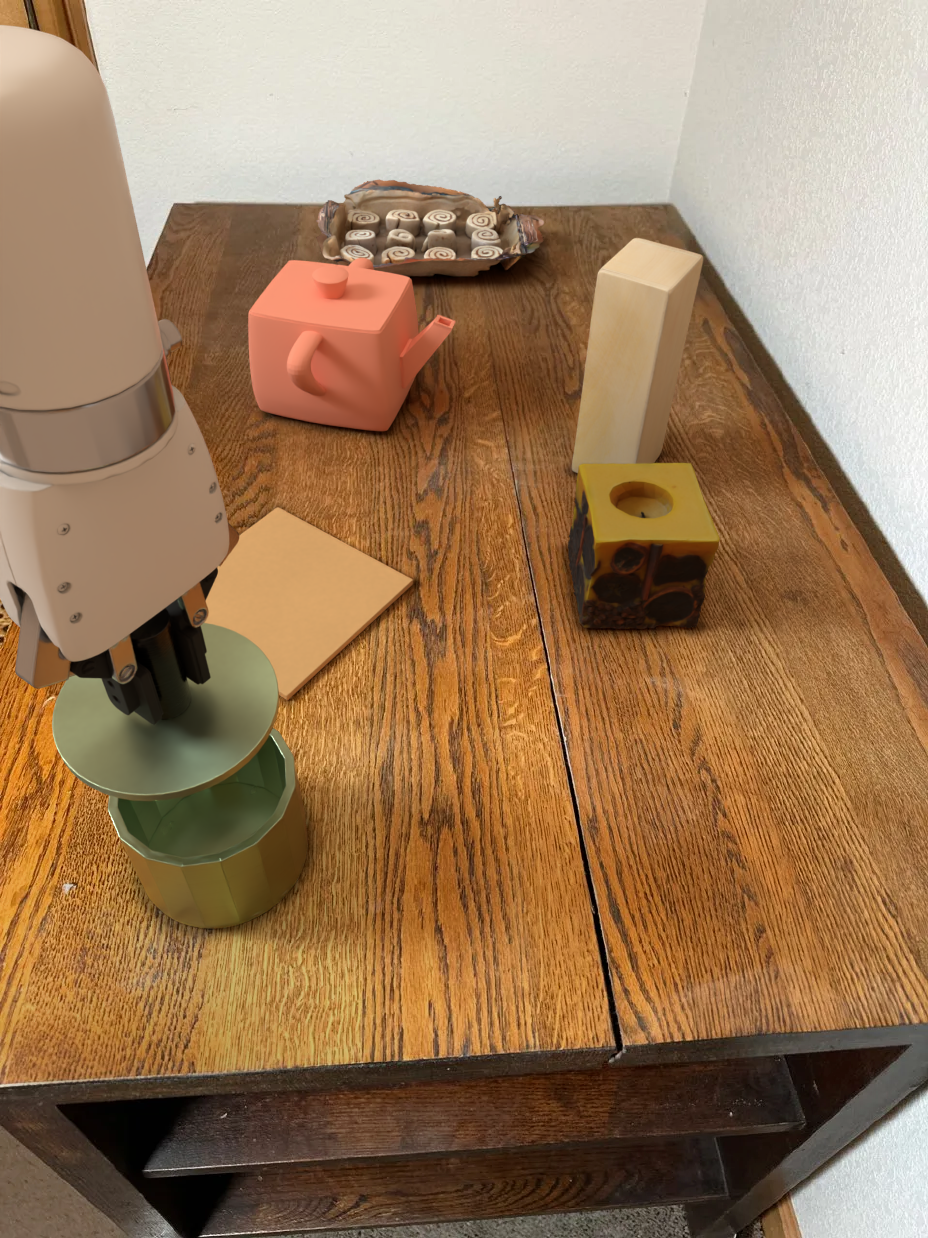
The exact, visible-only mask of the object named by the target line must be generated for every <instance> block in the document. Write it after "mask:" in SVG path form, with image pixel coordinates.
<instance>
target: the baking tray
mask: <svg viewBox="0 0 928 1238" xmlns="http://www.w3.org/2000/svg"><path fill="white" fill-rule="evenodd" d="M343 198H344V201H343V202H336V201H335V200H331V199H327V201H326V202H325V203H323V204H322V206H323V207H322V208H320V209H319V212H318V216H317V220H316V222H317V223H318V224H317V226H318V228H319V229H320V232H321V233H320V234H319V235H318V236H316V237H315V238H316V240H317V244H318V246H319V249H320V251H321V254H322V256H323V257H324V258H325V259H328V260H330V261H334V262H335V263H336V265H344V266H349V265H350V264H351V263H352V262H353V261H354V260H355V259H357V258H367V259H369V260H370V261H371V262H372V263H373V267H374V270H376V271H382V272H388V273H393V274H399V275H403V276H407V277H434V275H435V274H436V275H443V276H449V277H476V276H478V275H479V274H480V273H479V272H480V271H489V270H490V267H491V266H495V265H497V264H500V265H501V266H502V268H503V269H504V271H507V270H509V269H510V268H511V267H512V266H513V265H514V264H516V263H517V262H518V261H519V260H521V259H522V258H525V257H526V256H527V254H532V253H533V252H535V251H536V249H538V248H540V244H542V243H543V242H544V236H543V234H542V232H541V231H540V230H539V228H540V227H542V226H544V224H545V221H544V220H543V219H542V218H540V216H537V215H536V214H524V213H522V214H521V213H520V214H519V213H516V211H515V210H514V209H513V208H512V207H511V205H507V204H506V203H501V204H500V201H501V200H502V199H503V196H502V195H499V196H498V198H496V197H494V198H492V199H493V200H492V201H493V207H491V208H490V207H488V206H487V205H486V204H485V203H484V202H483V201H482V200H481V199H480V198H479V197H475V196H473V195H471V194H469V193H466V192H464V191H458V190H455V189H452V188H451V189H450V188H446V187H442V186H437V185H435V186H434V185H428V184H427V185H424V184H415V183H408V182H407V181H398V180H395V179H389V180H383V179H373V180H366V181H364V182H363V183H361V184H359V185H357V186H354V188H352V189H351V191H350V192H349V193H346V194H344V196H343ZM515 213H516V214H515Z"/></svg>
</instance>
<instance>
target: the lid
mask: <svg viewBox="0 0 928 1238" xmlns="http://www.w3.org/2000/svg"><path fill="white" fill-rule="evenodd" d="M201 629H202V633H203V637H204V641H205V645H206V649H207V652H206V654H205V656H206V660H207V664H208V668H209V672H210V676H211V678H210V679H209V680H208V681H206V682H205V683H204V684H199V685H198V684H196V683H194V682H193V681H191V680H190V679H188V678H187V677H186V673H185V669H184V666H183V662H182V658H181V655H180V651H179V647H178V644H177V640H176V636H175V633H174V629H173V626H172V622H171V618H170V615H169V612H168V610H167V609H166V608H164V609H163V610H162V611H160V612H159V613H157V614H156V615H155V616H153V617H152V618H151V619H149V620H148V621H147V622H145V623H144V624H143V625H141V626H140V627H138V628H137V629H136V630H134V631H133V632H132V633H130V637H131V642H132V646H133V650H134V654H135V659H136V661H137V662H139V663H140V664H142V665H143V666H144V667H146V668H147V669H148V670H149V671H150V673H151V675H152V679H153V682H154V685H155V688H156V691H157V694H158V698H159V701H160V704H161V707H162V710H163V715H162V719H161V720H160V721H158V722H157V723H156V724H155V725H153V724H151V723H149V722H148V721H147V720H145V719H144V718H142V717H141V716H140V715H138V714H137V713H135V712H132V713H131V714H130V715H126V714H124V713H123V712H121V711H120V710H119V709H117V708H116V707H115V706H114V705H113V704H112V702H111V701H110V699H109V697H108V695H107V692H106V690H105V687H104V684H103V682H102V679H101V678H80V677H78V676H76V675H75V676H72V677H69V680H66V681H64V683H63V685H62V687H61V689H60V691H59V693H58V695H57V697H56V700H55V704H54V708H53V712H52V721H51V728H52V736H53V737H52V738H53V739H54V744H55V747H56V749H57V752H58V753H59V755H60V758H61V759H62V762H63V763H64V765H65V766H66V767H67V769H69V771H70V772H71V774H72V775H74V776H75V777H76V778H77V779H78V780H79V781H80V782H82V783H83V784H85V785H87V786H88V787H89V788H91V789H92V790H95V791H98V792H100V793H102V794H104V795H108V796H109V795H110V796H114V797H117V798H122V799H128V800H136V801H158V800H168V799H174V798H180V797H183V796H187V795H190V794H194V793H197V792H199V791H202V790H205V789H207V788H210V787H212V786H214V785H216V784H218V783H219V782H221V781H223V780H225V779H227V778H228V777H230V776H231V775H233V774H234V773H236V772H237V771H238V770H239V769H241V768H242V767H243V766H244V765H245V764H247V763H248V762H249V761H250V760H251V759H252V758H253V757H254V756H255V755H256V754H257V752H258V751H259V750H260V749H261V747H262V746H263V745H264V743H265V742H266V740H267V738H268V737H269V735H270V733H271V731H272V729H273V728H274V727H275V724H276V721H277V719H278V713H279V709H280V695H279V689H278V682H277V678H276V675H275V671H274V669H273V667H272V665H271V663H270V661H269V659H268V658H267V657H266V655H265V654H264V653H263V651H262V650H261V649H260V648H258V647H257V646H256V645H255V644H254V643H253V642H252V641H250V640H249V639H247V638H246V637H244V636H242V635H241V634H239V633H237V632H235V631H232V630H230V629H227V628H225V627H221V626H217V625H214V624H208V623H203V624H202V625H201Z"/></svg>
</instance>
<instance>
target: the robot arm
mask: <svg viewBox="0 0 928 1238" xmlns="http://www.w3.org/2000/svg"><path fill="white" fill-rule="evenodd" d="M110 101H111V100H110V98H109V94H108V91H107V88H106V85H105V82H104V81H103V78H102V76H101V74H100V73H99V71H98V70H97V68H96V66H95V65H94V64H93V63H92V61H91V60H90V59H89V57H87V56H86V54H85V53H84V52H83V51H82V50H81V49H79V48H78V47H76V46H75V45H73V44H72V43H70V42H69V41H67V40H65V39H64V38H62V37H59V36H57V35H55V34H51V33H48V32H45V31H41V30H36V29H33V28H28V27H22V26H16V25H6V24H0V602H1V603H2V606H3V608H4V610H5V612H6V614H7V615H8V618H10V620H11V621H12V622H14V624H15V625H16V626H18V627H19V635H18V642H17V650H16V658H15V659H16V660H15V668H14V674H15V675H16V676H17V677H19V678H20V679H21V680H23V681H24V682H25V683H27V684H28V685H30V686H31V687H32V688H33V689H37V690H39V689H44V688H47V687H49V686H53V685H57V684H59V683H62V682H66V680H69V677H72V676H75V675H76V676H78V677H80V678H101V679H102V682H103V684H104V687H105V690H106V692H107V695H108V697H109V699H110V701H111V702H112V704H113V705H114V706H115V707H116V708H117V709H119V710H120V711H121V712H123V713H124V714H126V715H130V714H131V713H132V712H135V713H137V714H138V715H140V716H141V717H142V718H144V719H145V720H147V721H148V722H149V723H151V724H153V725H155V724H156V723H157V722H158V721H160V720H161V719H162V715H163V710H162V707H161V704H160V701H159V698H158V694H157V691H156V688H155V685H154V682H153V679H152V675H151V673H150V671H149V670H148V669H147V668H146V667H144V666H143V665H142V664H140V663H139V662H137V661H136V659H135V654H134V650H133V646H132V642H131V637H130V633H132V632H133V631H134V630H136V629H137V628H138V627H140V626H141V625H143V624H144V623H145V622H147V621H148V620H149V619H151V618H152V617H153V616H155V615H156V614H157V613H159V612H160V611H162V610H163V609H164V608H166V609H167V610H168V612H169V615H170V618H171V622H172V626H173V629H174V633H175V636H176V640H177V644H178V647H179V651H180V655H181V658H182V662H183V666H184V669H185V673H186V677H187V678H188V679H190V680H191V681H193V682H194V683H196V684H198V685H199V684H204V683H205V682H206V681H208V680H209V679H210V678H211V676H210V672H209V668H208V664H207V660H206V656H205V654H206V652H207V649H206V645H205V641H204V637H203V633H202V629H201V625H202V624H203V623H204V622H205V621H206V619H207V617H208V614H209V611H208V607H207V604H206V599H207V597H208V594H209V592H210V590H211V588H212V586H213V584H214V581H215V579H216V577H217V574H218V568H217V567H218V566H221V565H222V564H223V562H224V561H225V559H226V558H227V557H228V555H229V554H230V553H231V551H232V550H233V549H234V547H235V546H236V544H237V543H238V541H239V535H240V534H239V533H240V532H238V530H236V529H235V528H234V526H233V525H232V524H230V523H229V521H228V516H227V511H226V506H225V501H224V498H223V494H222V490H221V486H220V483H219V480H218V476H217V472H216V469H215V466H214V462H213V460H212V457H211V454H210V452H209V449H208V446H207V443H206V440H205V439H204V435H203V433H202V431H201V429H200V426H199V424H198V423H197V420H196V418H195V416H194V414H193V411H192V410H191V408H190V406H189V404H188V402H187V401H186V399H185V397H184V395H183V393H182V392H181V391H180V389H178V388H177V387H176V386H174V385H173V381H172V378H171V374H170V368H169V363H168V359H169V358H171V356H172V353H174V352H176V351H177V350H179V349H181V348H182V346H183V337H182V334H181V332H180V331H179V328H178V327H177V326H176V325H175V323H174V322H172V321H171V320H169V319H167V318H163V319H161V320H158V315H157V312H156V307H155V303H154V298H153V297H154V296H153V293H152V287H151V284H150V278H149V275H148V270H147V265H146V261H145V256H144V252H143V251H144V250H143V246H142V242H141V237H140V234H139V227H138V223H137V217H136V213H135V209H134V205H133V201H132V195H131V190H130V186H129V181H128V176H127V172H126V167H125V163H124V162H125V161H124V158H123V152H122V148H121V144H120V140H119V139H120V138H119V135H118V130H117V126H116V121H115V116H114V112H113V109H112V104H111V102H110Z"/></svg>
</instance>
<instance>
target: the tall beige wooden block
mask: <svg viewBox="0 0 928 1238" xmlns="http://www.w3.org/2000/svg"><path fill="white" fill-rule="evenodd" d="M703 263H704V256H703V255H702V254H700V253H696V252H693V251H689V250H685V249H682V248H678V247H675V246H671V245H668V244H663V243H659V242H655V241H652V240H649V239H645V238H641V237H634V238H633V239H630V241H629V242H628V243H627V244H626V245H625V246H624V247H623V248H621V249H620V250H619V251H618V252H616V254H615V255H613V257H611V258H610V260H609V261H607V262H606V263H605V264H604V265H603V266H602V267H601V268H600V269H599V270H598V272H597V275H596V283H595V288H594V294H593V302H592V310H591V315H590V316H591V318H590V323H589V328H590V329H589V335H588V342H587V343H588V344H587V351H586V358H585V364H584V365H585V366H584V373H583V381H582V388H581V396H580V404H579V411H578V418H577V426H576V433H575V441H574V448H573V449H574V450H573V454H572V461H571V471H572V472H573V473H576V474H578V468H579V465H581V464H609V463H616V464H640V463H656V461H657V460H658V458H659V457H660V455H661V453H662V452H663V451H662V450H663V447H664V443H665V438H666V433H667V427H668V424H669V419H670V414H671V410H672V405H673V401H674V396H675V391H676V387H677V383H678V377H679V373H680V369H681V364H682V359H683V355H684V350H685V345H686V341H687V336H688V331H689V327H690V323H691V318H692V313H693V309H694V304H695V299H696V295H697V291H698V286H699V282H700V277H701V272H702V268H703Z"/></svg>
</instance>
